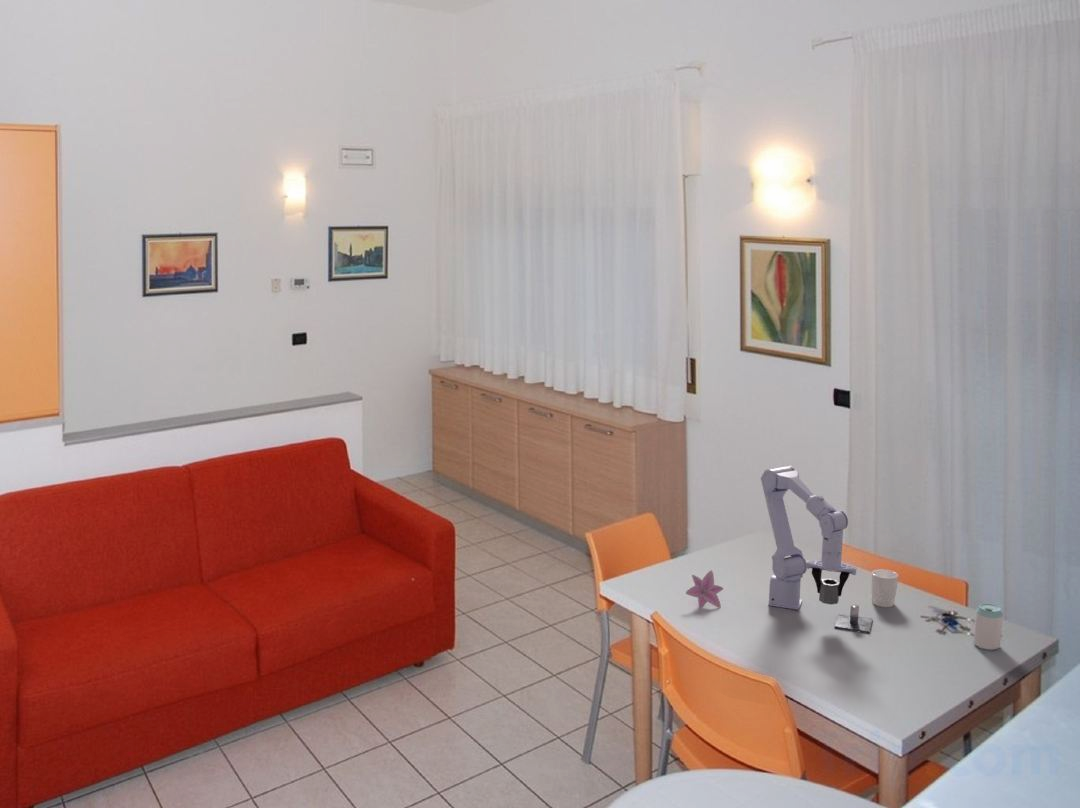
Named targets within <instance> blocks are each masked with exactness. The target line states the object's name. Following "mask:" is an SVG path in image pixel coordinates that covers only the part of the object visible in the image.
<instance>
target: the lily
mask: <svg viewBox="0 0 1080 808" xmlns="http://www.w3.org/2000/svg"><path fill="white" fill-rule="evenodd" d="M714 575H715V574H714V572H713V570H712V569H711V570H709V571H708V572H707V573H706V574H705V575H704V577H703V578H700V577H699V576H697V575H695V574H692V575H691V577H692V581H693V583H694V585H693V586H692V587H690V588H689V589H687V590H686V591H685V594H686V595H687V596H691V597H693V598H697V599H698V600H697V601H698V608H699V609H700V610H702V609H703V608H704V606H705V605H706V604H707V603H709V604H711V605H713V606H715V607H716V608H719V609H720V608H721V605H722V604H721V603H720V601H721V600H720V598H719V597H718V595H717V594H719V593H721V592H722V591H723V590H724V587H722V586H720V585H718V584H715V576H714Z"/></svg>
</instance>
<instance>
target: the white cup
mask: <svg viewBox="0 0 1080 808" xmlns="http://www.w3.org/2000/svg"><path fill="white" fill-rule="evenodd" d="M898 579H899V574H898V573H897V572H896V571H893V570H891V569H882V568H881V569H879V568H878V569H874V570H872V572H871V603H872V604H873V605H874V604H875V605H874V606H877V607H880V606H881V607H880V608H892V607H893V606H894V605H895V601H896V599H895V598H896V594H897V587H898Z"/></svg>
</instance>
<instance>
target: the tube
mask: <svg viewBox="0 0 1080 808" xmlns="http://www.w3.org/2000/svg"><path fill="white" fill-rule="evenodd" d="M839 581H840V580H839ZM839 581H838V579H835V578H829V577H827V578H821V581H820V593H819V597H818V601H819V602H821V603H822V604H826V605H836V604H838V603H839V601H840V600H839V599H840V598H839V597H840V596H838V592H839Z"/></svg>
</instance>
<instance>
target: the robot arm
mask: <svg viewBox="0 0 1080 808" xmlns="http://www.w3.org/2000/svg"><path fill="white" fill-rule="evenodd" d="M760 481H761V485H762V489H763V490H762V491H763V494H764V498H765V503H766V506H767V507H766V508H767V510H768V517H769V520H770V523H771V524H770V525H771V528H772V533H773V537H774V542H775V545H776V551H775V552H774V553H773V554H772V555H771V559H772V565H771V567H772V572H773V574H771V577H770V581H769V593H768V604H767V605H768V606H771V607H776V608H777V607H778V608H784V609H791V610H797V611H799V610H800V608H801V606H802V603H803V599H802V598H801V597H800V596H801V583H802V581H801V579H802V578H803V576H804V574H806V572H807V570H809V569H811V575H812V577H813V579H814V583H815V585H816V589H817V594H820V581H821V579H822V574H823V573H822V571H827V572H831V573H832V572H834V573H840V574H839V576H838V577H839V592H838V596H839V597H841V596H842V595H843V590H844V589H843V588H844V586H845V584H846V582H847V581H848V579H849V576H850V575H852V576H856V575H857V566H853V565H848V564H844V563H842V559H843V558H842V557H843V542H844V541H843V540H844V539H843V538H844V530H845V529H847V527H848V525H849V518H848V516H847V514H846V513H845V512H844V511H843V510H842V509H836V508H834V506H832V505H831V504H829V502H828V501H826V499H825V498H824V497H823V495H819V494H816V495H815V494H814V493H813V492H812V491H811V490H810V488H809V487H808V486H807V485H806V484H805V483H804V482H803V481H802V480H801V478H800V474H799V472H798V470H796V469H795V467H793V466H792V465H786V466H783V467H776V468H771V469H770V468H769V469H768V468H767V469H765V470H764V471H763V473H762V475H761V477H760ZM788 491H791V492H792V493H793V494H794V495H796V496H797V497H798V498H800V500H801V501H803V502H804V503H805V507H806V510H807V511H808V512H809V513H810V514H812V516H814V518H815V519H816V520H817V521H818V523H819V527H820V531H821V536H822V545H821V547H822V548H821V560H806V559H805V556H803V552H802V550H801V549H800V548H798V546H797V547H796V546H795V543H794V539H793V535H792V530H791V526H790V521H789V518H788V514H787V510H786V506H785V501H784V497H785V495H786V493H787V492H788Z"/></svg>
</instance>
